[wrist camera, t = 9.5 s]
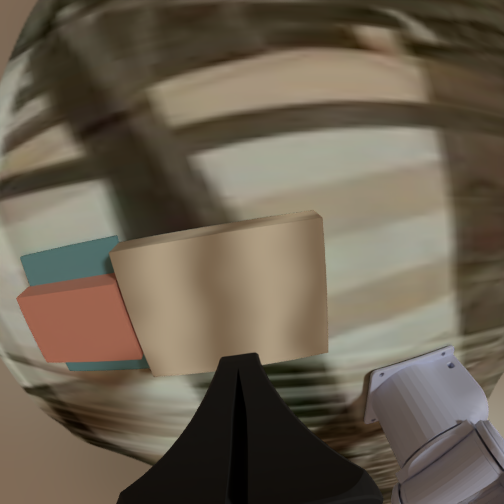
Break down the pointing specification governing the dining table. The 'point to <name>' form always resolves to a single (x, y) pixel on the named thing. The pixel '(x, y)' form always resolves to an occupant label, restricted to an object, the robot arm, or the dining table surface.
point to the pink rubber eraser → (81, 320)
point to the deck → (227, 292)
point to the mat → (74, 267)
